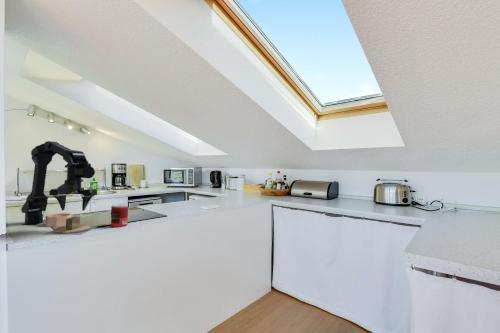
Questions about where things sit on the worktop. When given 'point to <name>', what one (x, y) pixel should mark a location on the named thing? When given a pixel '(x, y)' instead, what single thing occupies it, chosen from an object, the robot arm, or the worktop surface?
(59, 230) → the lid
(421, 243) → the worktop surface
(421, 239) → the worktop surface
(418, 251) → the worktop surface
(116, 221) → the canned food
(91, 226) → the mat
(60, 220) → the bowl
